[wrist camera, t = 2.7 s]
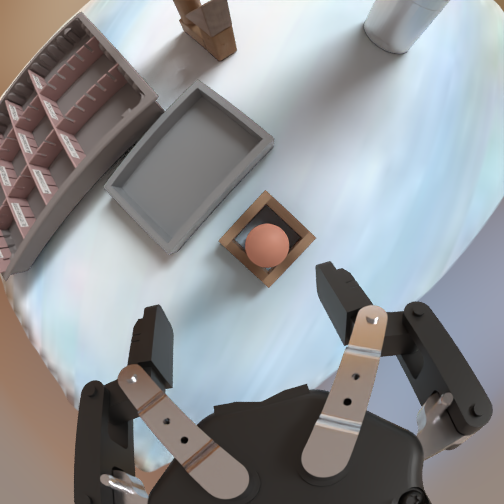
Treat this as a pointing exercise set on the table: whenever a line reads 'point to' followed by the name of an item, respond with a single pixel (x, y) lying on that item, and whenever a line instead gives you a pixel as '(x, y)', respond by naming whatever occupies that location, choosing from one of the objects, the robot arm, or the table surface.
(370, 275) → the table surface
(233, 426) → the robot arm
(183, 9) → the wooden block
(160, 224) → the tray
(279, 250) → the dowel
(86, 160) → the organizer tray
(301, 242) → the dowel collar
